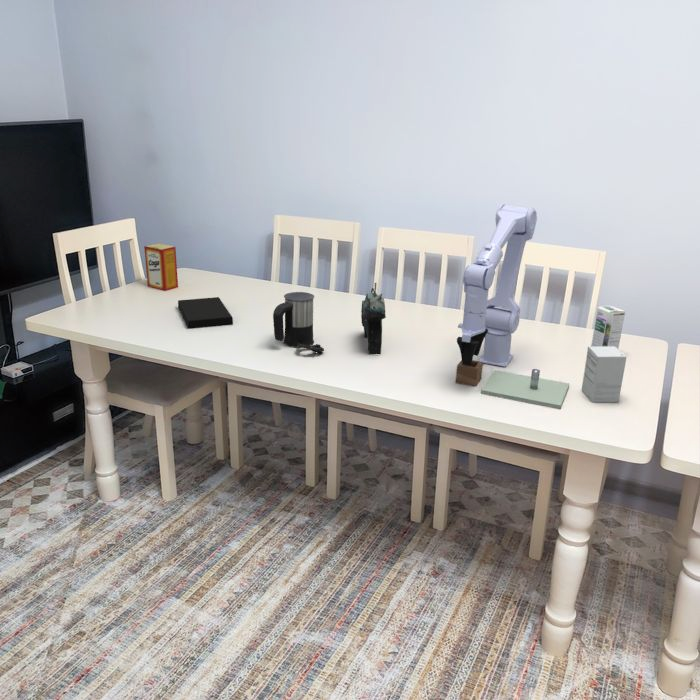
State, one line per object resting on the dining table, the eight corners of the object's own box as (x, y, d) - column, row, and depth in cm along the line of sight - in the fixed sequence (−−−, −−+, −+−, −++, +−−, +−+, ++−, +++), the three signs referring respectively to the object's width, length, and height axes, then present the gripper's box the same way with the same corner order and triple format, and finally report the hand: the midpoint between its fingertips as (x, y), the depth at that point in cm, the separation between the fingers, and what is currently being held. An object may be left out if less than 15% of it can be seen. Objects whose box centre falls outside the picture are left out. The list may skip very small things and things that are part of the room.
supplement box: (608, 390, 181) (615, 345, 177) (619, 402, 174) (627, 356, 170) (580, 390, 181) (587, 345, 176) (590, 402, 174) (598, 356, 169)
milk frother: (294, 335, 215) (293, 289, 210) (338, 344, 208) (339, 297, 203) (269, 349, 203) (268, 301, 198) (315, 359, 197) (316, 310, 191)
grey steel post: (530, 386, 180) (532, 368, 178) (538, 387, 179) (540, 369, 178) (529, 388, 178) (531, 371, 177) (536, 390, 178) (539, 372, 176)
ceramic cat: (385, 356, 200) (388, 290, 192) (362, 357, 199) (365, 290, 192) (377, 333, 218) (380, 272, 211) (357, 333, 218) (359, 272, 211)
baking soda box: (147, 286, 261) (144, 245, 255) (161, 283, 266) (157, 242, 260) (164, 291, 256) (161, 248, 250) (178, 287, 261) (175, 245, 256)
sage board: (494, 373, 190) (494, 369, 190) (568, 386, 183) (569, 383, 182) (480, 393, 177) (481, 389, 177) (560, 409, 170) (560, 405, 169)
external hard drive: (188, 330, 218) (187, 321, 217) (178, 308, 238) (177, 300, 237) (232, 325, 223) (232, 316, 222) (219, 305, 243) (219, 297, 242)
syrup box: (589, 352, 207) (596, 306, 202) (604, 350, 209) (612, 304, 204) (602, 359, 202) (610, 312, 197) (618, 356, 204) (626, 310, 199)
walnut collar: (461, 375, 188) (462, 358, 186) (481, 379, 186) (483, 362, 184) (455, 382, 183) (457, 365, 182) (476, 386, 181) (477, 369, 180)
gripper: (467, 301, 185) (463, 348, 190) (452, 315, 173) (447, 365, 178) (493, 305, 183) (488, 352, 188) (479, 320, 170) (474, 370, 175)
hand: (470, 359), depth 182 cm, fingers open, 7 cm apart
